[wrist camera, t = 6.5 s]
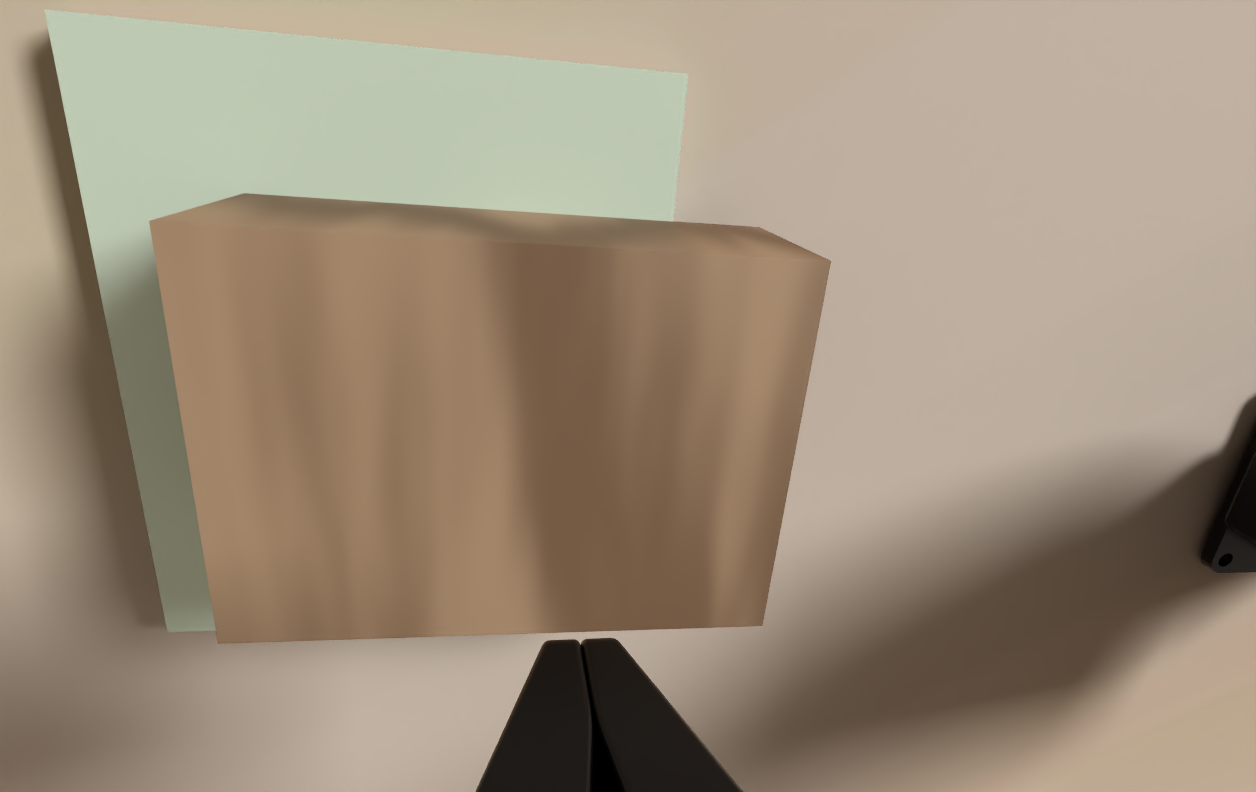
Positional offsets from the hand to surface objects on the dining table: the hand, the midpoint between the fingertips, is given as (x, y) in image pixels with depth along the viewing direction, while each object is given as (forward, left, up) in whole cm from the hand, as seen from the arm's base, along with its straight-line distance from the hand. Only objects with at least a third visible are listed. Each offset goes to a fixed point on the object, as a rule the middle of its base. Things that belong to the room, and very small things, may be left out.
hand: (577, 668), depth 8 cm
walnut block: (-5, 0, -7) cm, 9 cm away
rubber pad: (+3, 0, -10) cm, 11 cm away
